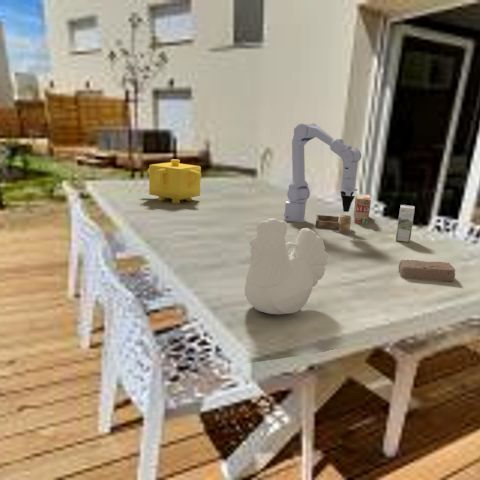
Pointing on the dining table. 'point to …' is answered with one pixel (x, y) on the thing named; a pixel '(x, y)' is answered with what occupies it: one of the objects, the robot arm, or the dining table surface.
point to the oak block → (344, 223)
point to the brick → (426, 270)
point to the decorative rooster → (283, 268)
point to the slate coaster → (343, 232)
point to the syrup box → (405, 223)
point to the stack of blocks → (362, 208)
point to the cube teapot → (174, 181)
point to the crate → (327, 222)
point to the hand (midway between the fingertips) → (345, 209)
